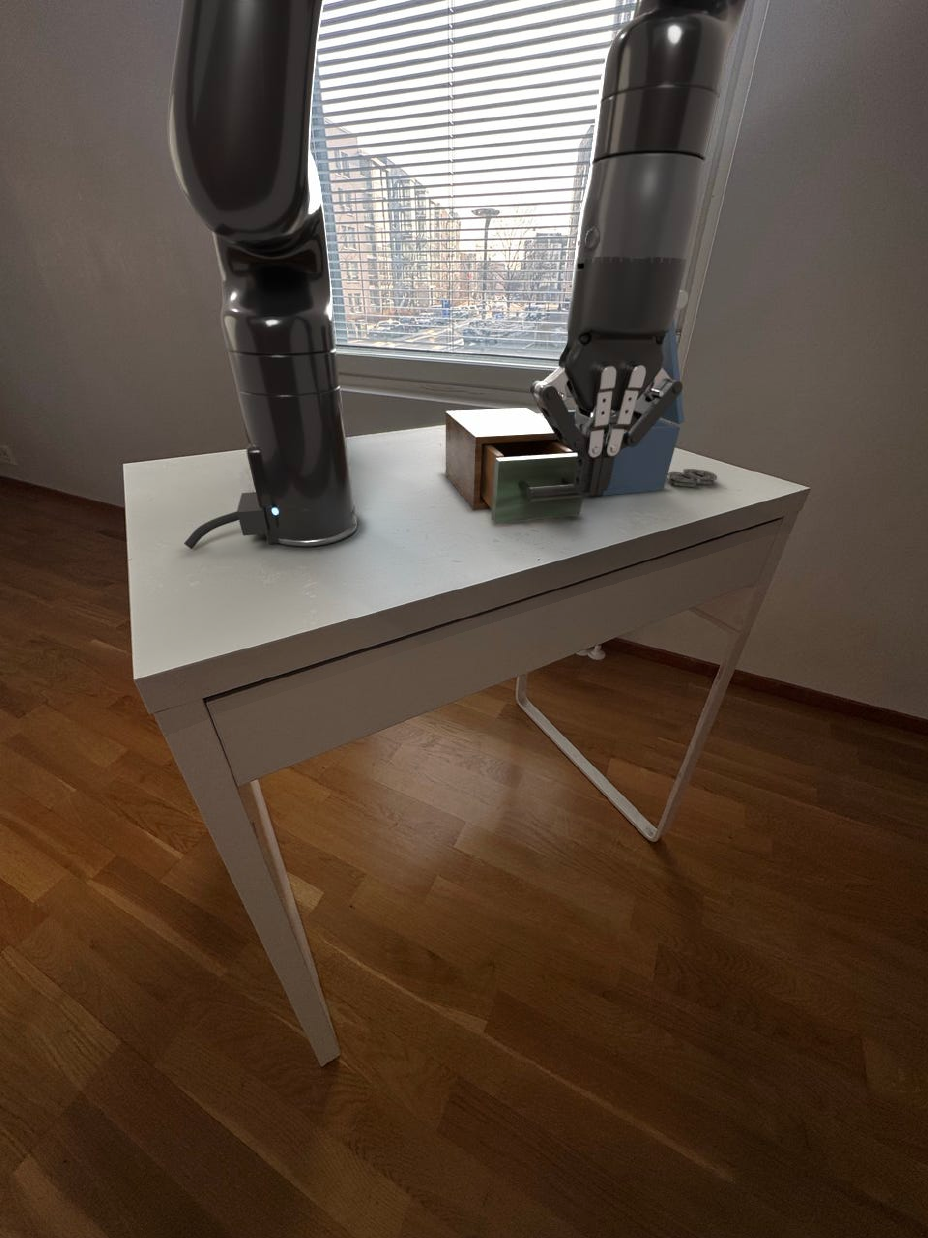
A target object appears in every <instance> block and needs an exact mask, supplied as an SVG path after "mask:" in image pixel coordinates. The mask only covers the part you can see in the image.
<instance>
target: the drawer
mask: <svg viewBox="0 0 928 1238" xmlns="http://www.w3.org/2000/svg"><path fill="white" fill-rule="evenodd" d="M576 461H577V453H573V451H572V450H570V449H568V448H567V447H565V446H564V445H562V444H560V443H559V442H557V441H555V440H543V441H525V442H507V443H488V444H482V458H481V481H480V496H481V497H482V498H483V499H484V501H485V502H486V503H487V504H488V505H489V506H490V507H491V520H492V521H493V523H494V524H501V523H509V522H510V523H511V522H512V523H513V522H522V521H531V520H541V519H543V520H544V519H552V518H563V517H571V516H572V517H573V516H580V514H581V510H582V504H583V499H584V497H582V496H581V495H580V494H578V492H577V489H576V488H574V484H573V481H574V474H575V467H576Z"/></svg>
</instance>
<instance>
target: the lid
mask: <svg viewBox="0 0 928 1238" xmlns="http://www.w3.org/2000/svg"><path fill="white" fill-rule="evenodd" d="M688 302H689V293H688V292H687V291H686V290H682V289H680V292H679V296H678V301H677V305H676V310H682V309H683V308H685V307H686V305H687V303H688ZM663 350H664V355H665V360H664V364H663V367H662V368H663V369H664V370H665V372H666V373H667V374H668V376H669V377H670V378H671V379H672V380H676V381H680V382H681V375H680V365H679V355H678V345H677V336H676V327H675V317H674V318H673V323H672V327H671V329H670V331H669V332H668V333H667V334H666V335H665V337H664V340H663ZM640 397H641V396H640ZM683 405H684V404H683V395H682V392H681V393H680V394H679V396H678V397H677V398H676V399H675V400H674V402H673V403H672V404H671V405H670V406H669V407H668V409H667V410H666V411H665V412H664V413H663V415H662V416H661V417H660V418H659V419H662V420H665V421H668V422H670V423H671V422H672V423H673V424H676V425H680V424H683V423H684V422H685V413H684V406H683Z"/></svg>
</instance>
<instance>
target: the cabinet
mask: <svg viewBox="0 0 928 1238" xmlns="http://www.w3.org/2000/svg"><path fill="white" fill-rule="evenodd" d="M543 440H555V441H557V442H559V441H558V439H557V437H556V436H555V434H554V432H553V431H552V429H551V427H550V426H549V424H548V422H547V420H546V419H545V418H544V416H541V415H540V414H538V413H536V412H534V411H532V410H530V408H529V409H528V408H527V407H523V408H522V407H521V408H520V407H519V408H493V409H491V408H490V409H467V410H463V409H462V410H446V411H445V477H447V479H448V480H449V481H450V483H451V484H452V485H453V486H454V488H455V489H456V490H457V491H458V494H459V495H460V496H461V497H462V498H463V499H464V501H465V502H466V503H467V504H468V506H469V507H470V508H471V510H472V511H481V510H490V509H491V507H490V506H489V505H488V504H487V503H486V502H485V501H484V499H483V498H482V497H481V496H480V481H481V458H482V444H488V443H507V442H525V441H543ZM559 443H560V442H559ZM560 444H561V443H560ZM562 445H563V444H562ZM564 446H565V447H567V448H568V446H566V445H564ZM491 510H492V509H491Z"/></svg>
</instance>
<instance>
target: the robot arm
mask: <svg viewBox="0 0 928 1238" xmlns="http://www.w3.org/2000/svg"><path fill="white" fill-rule="evenodd" d="M324 2H325V0H181V8H180V17H179V23H178V31H177V38H176V46H175V53H174V60H173V67H172V73H171V74H172V75H171V80H170V81H171V82H170V87H169V98H168V107H167V118H166V121H167V122H166V123H167V124H166V129H167V130H166V135H167V136H166V137H167V145H168V152H169V153H168V154H169V158H170V161H171V165H172V168H173V172H174V175H175V178H176V180H177V183H178V186H179V188H180V190H181V192H182V194H183V196H184V198H185V199H186V202H187V203H188V204H189V206H190V207H191V209H192V211H193V213H195V214H196V216H197V217H198V219H199V220H200V221H202V223H203V224H204V225H205V226H206V227H207V228H208V229H209V230H210V231H211V235H212V241H213V246H214V250H215V254H216V260H217V265H218V270H219V275H220V282H221V283H220V284H221V306H220V310H219V323H220V328H221V332H222V336H223V340H224V341H223V342H224V345H225V349H227V350H226V353H227V357H228V362H229V367H230V371H231V375H232V377H233V383H234V387H235V391H236V396H237V401H238V405H239V409H240V413H241V417H242V422H243V426H244V430H245V434H246V439H247V444H246V445H247V446H246V451H245V453H246V457H247V460H248V461H247V462H248V465H249V469H250V474H251V478H252V482H253V486H254V490H255V491H250V492H241V495H240V498H239V502H238V505H237V509H236V511H233V512H230V513H226V514H224V515H221V516H218V517H216V518H213V519H211V520H209V521H207V522H204V523H203V524H201V525H200V526H199V527H197V528H196V529H195V530H194V531H193V532H192V533H191V534H190V535H189V536H188V538H187V539H186V540H185V541H184V542H183V544H184V545H185V546H186V547H187V548H189V549H190V550H193V549H194V547H195V546H196V545H197V544H198V543H199V541H200V540H201V539H202V538H204V536H206V535H207V534H208V533H210V532H212V531H214V530H216V529H217V528H220V527H222V526H225V525H228V524H231V523H235V522H236V521H238V522H239V526H240V530H241V533H242V536H254V535H265V538H266V541H267V544H269V545H272V544H282V545H285V546H292V547H318V546H324V545H329V544H332V543H336V542H338V541H342V540H344V539H346V538H347V537H349V536H351V535H352V534H353V533H354V532H355V531H356V530H357V528H358V520H357V516H356V507H355V503H354V494H353V486H352V485H353V484H352V475H351V467H350V459H349V452H348V451H349V450H348V441H347V434H346V425H345V417H344V415H345V414H344V408H343V407H344V406H343V399H342V390H341V389H342V388H341V382H340V373H339V365H338V356H337V349H336V339H335V338H336V337H335V328H334V327H335V324H334V300H333V291H332V283H331V282H332V281H331V271H330V262H329V253H328V252H329V251H328V241H327V233H326V222H325V215H324V214H325V213H324V206H323V205H324V204H323V198H322V190H321V184H320V179H319V174H318V170H317V166H316V163H315V160H314V158H313V155H312V153H311V129H312V128H311V127H312V126H311V125H312V108H313V94H314V85H315V84H314V83H315V82H314V81H315V73H316V72H315V71H316V61H317V52H318V43H319V42H318V41H319V33H320V27H321V20H322V19H321V18H322V14H323V8H324ZM747 2H748V0H636V3H635V8H634V10H633V11H634V12H633V17H632V19H631V20H630V21H629V22H628V23H626V24H625V25H624V26H622V28H621V29H620V30H619V32H618V33H617V34H616V35H615V36H614V38H613V40H612V42H611V44H610V46H609V48H608V51H607V54H606V57H605V62H604V66H603V69H602V74H601V80H600V86H599V92H598V99H597V108H596V115H595V125H594V131H593V141H592V147H591V156H590V167H589V171H588V178H587V182H586V187H585V191H584V196H583V199H582V204H581V208H580V209H581V210H580V216H579V222H578V231H577V232H578V233H577V239H576V249H575V256H574V265H573V273H572V281H571V288H570V289H571V290H570V297H569V298H570V299H569V307H568V314H567V315H568V316H567V322H566V324H567V325H566V327H567V329H566V331H567V340H566V343H565V346H564V348H563V350H562V351H561V353H560V355H559V357H558V367H557V368H556V369H555V370H554V371H553V372H552V373H551V374H549V376H547V377H546V378H545V379H544V380H542V381H540V380H536V381H534V382H533V383H532V384H531V386H530V388H529V393H530V395H531V397H532V398H533V400H534V402H535V403H536V406H537V407H538V408H539V410H540V412H541V414H542V416H543V418H544V417H545V419H546V420H547V422H548V424H549V426H550V427H551V429H552V431H553V432H554V434H555V436H556V437H557V439H558V441H559V442H560V443H561V444H563V445H566V446H568V447H569V448H570V449H571V450H573V451H577V461H576V467H575V474H574V481H573V484H574V488H576V489H577V492H578V494H580V495H581V496H582V497H583V499H585V500H590V499H591V500H592V499H601V498H603V497H604V496H603V493H604V491H606V490H607V488H608V486H609V484H610V478H611V473H612V468H613V463H614V458H615V455H616V454H617V453H618V452H619V451H620V450H621V449H623V448H625V447H628V446H630V447H634V446H636V445H637V444H638V443H639V442H640V441H641V440H642V438H643V437H644V436H645V435H646V434H647V432H648V431H649V430H650V429H651V428H652V426H653V425H654V424H655V423H656V422H657V421H658V419H661V418H660V417H661V416H662V415H663V413H664V412H665V411H666V410H667V409H668V407H669V406H670V405H671V404H672V403H673V402H674V400H675V399H676V398H677V397H678V396H679V394H680V393H682V391H683V383H682V382H681V380H680V381H676V380H672V379H671V378H670V377H669V376H668V374H667V373H666V372H665V370H664V369H663V368H662V367H663V364H664V360H665V355H664V350H663V340H664V337H665V335H666V334H667V333H668V332H669V331H670V329H671V327H672V323H673V318H674V319H675V315H676V314H675V313H676V310H677V309H676V305H677V301H678V296H679V292H680V290H681V287H682V282H683V278H684V274H685V270H686V265H687V260H688V258H689V257H688V256H689V252H690V248H691V244H692V239H693V235H694V230H695V226H696V221H697V218H698V213H699V205H700V199H701V190H702V181H703V174H704V168H705V160H706V158H707V154H708V150H709V146H710V142H711V141H710V140H711V136H712V133H713V132H712V131H713V127H714V123H715V119H716V114H717V111H718V110H717V109H718V106H719V99H720V97H721V91H722V86H723V80H724V74H725V69H726V64H727V58H728V53H729V50H730V47H731V44H732V42H733V40H734V37H735V34H736V32H737V29H738V27H739V24H740V22H741V18H742V17H743V13H744V10H745V8H746V4H747ZM567 389H568V391H569V394H570V396H571V397H572V399H573V401H574V403H575V408H574V410H575V420H576V422H577V426H576V424H575V422H574V420H573V419H572V417H571V415H570V413H569V411H568V410H569V409H568V407H567V405H566V404H565V402H567V400H568V392H567ZM640 396H641V397H640ZM615 411H616V412H615Z"/></svg>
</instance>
